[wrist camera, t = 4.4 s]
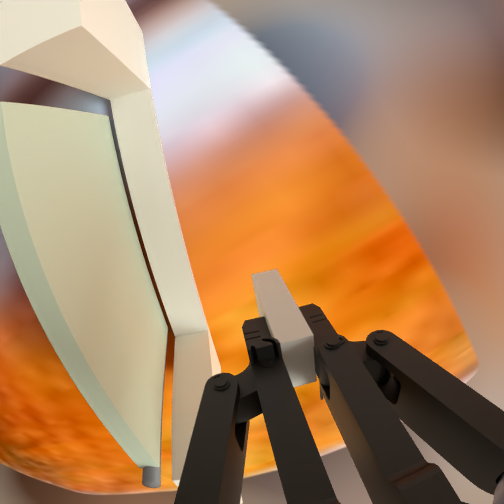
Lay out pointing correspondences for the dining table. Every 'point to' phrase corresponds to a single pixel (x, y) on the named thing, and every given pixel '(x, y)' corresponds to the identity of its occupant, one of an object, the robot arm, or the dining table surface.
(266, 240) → the dining table surface
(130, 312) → the door
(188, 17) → the dining table surface
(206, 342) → the wall frame
